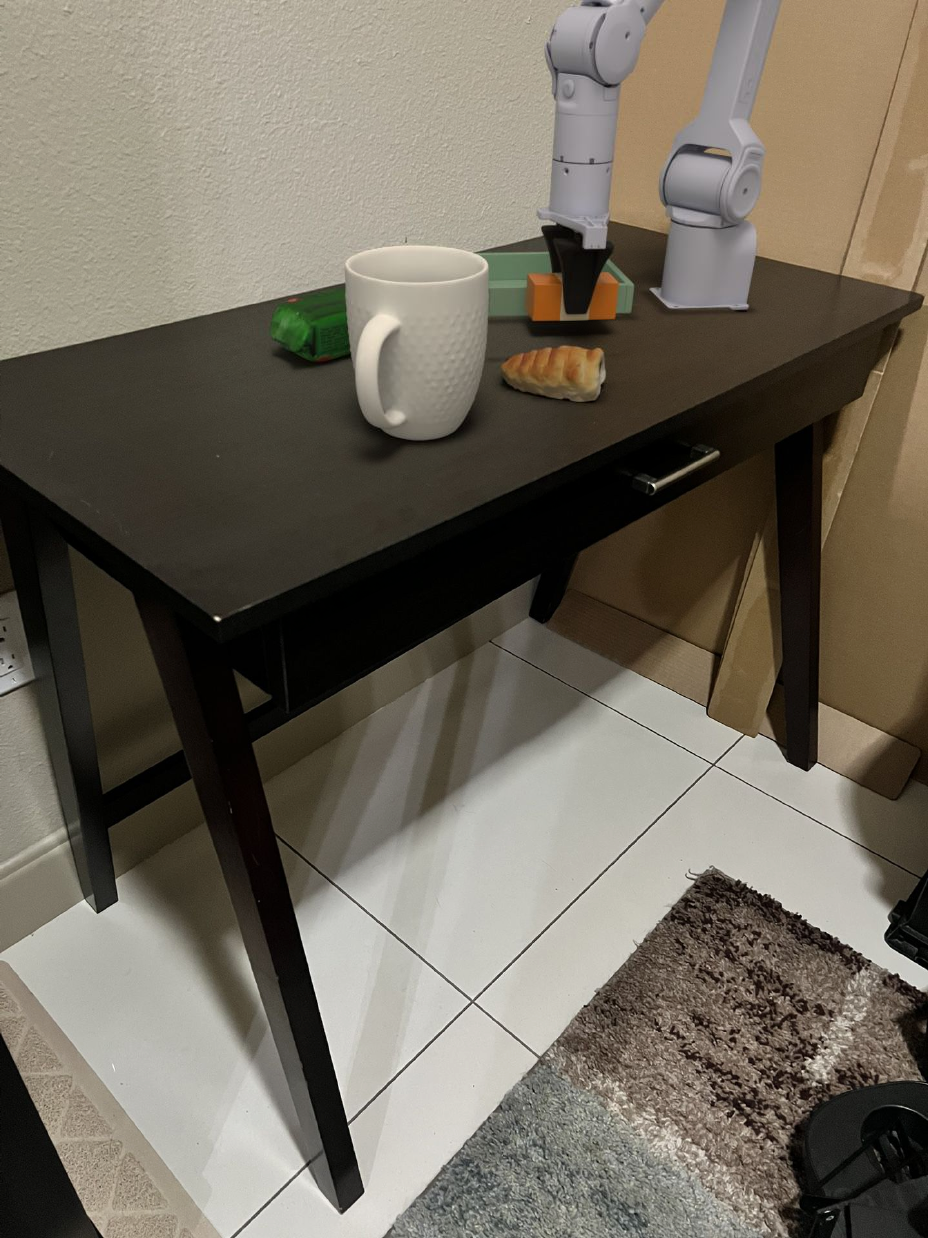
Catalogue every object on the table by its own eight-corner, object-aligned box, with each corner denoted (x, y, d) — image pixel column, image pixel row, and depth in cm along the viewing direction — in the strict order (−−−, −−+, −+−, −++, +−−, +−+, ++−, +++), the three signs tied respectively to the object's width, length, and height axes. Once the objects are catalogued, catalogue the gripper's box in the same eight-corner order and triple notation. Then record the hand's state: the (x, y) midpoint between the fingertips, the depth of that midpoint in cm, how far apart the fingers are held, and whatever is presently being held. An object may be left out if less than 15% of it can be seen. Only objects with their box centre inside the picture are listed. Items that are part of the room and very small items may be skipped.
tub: (598, 281, 113) (601, 250, 111) (630, 318, 102) (634, 284, 100) (464, 284, 112) (464, 252, 109) (481, 321, 100) (482, 287, 98)
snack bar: (605, 307, 97) (608, 271, 95) (615, 319, 93) (619, 282, 91) (525, 309, 96) (527, 272, 94) (532, 321, 93) (534, 284, 90)
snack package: (429, 340, 95) (429, 287, 92) (300, 373, 86) (295, 317, 83) (387, 323, 99) (386, 273, 96) (260, 354, 90) (254, 299, 88)
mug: (436, 484, 68) (435, 305, 61) (305, 458, 71) (289, 285, 64) (503, 411, 80) (509, 253, 72) (388, 392, 83) (382, 238, 75)
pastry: (494, 395, 83) (496, 353, 80) (507, 369, 88) (509, 329, 86) (599, 405, 81) (604, 362, 79) (606, 378, 87) (610, 338, 84)
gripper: (526, 146, 92) (519, 286, 100) (557, 173, 80) (546, 329, 88) (595, 146, 93) (583, 285, 100) (636, 173, 81) (618, 327, 89)
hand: (570, 306), depth 94 cm, fingers closed on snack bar, 4 cm apart
